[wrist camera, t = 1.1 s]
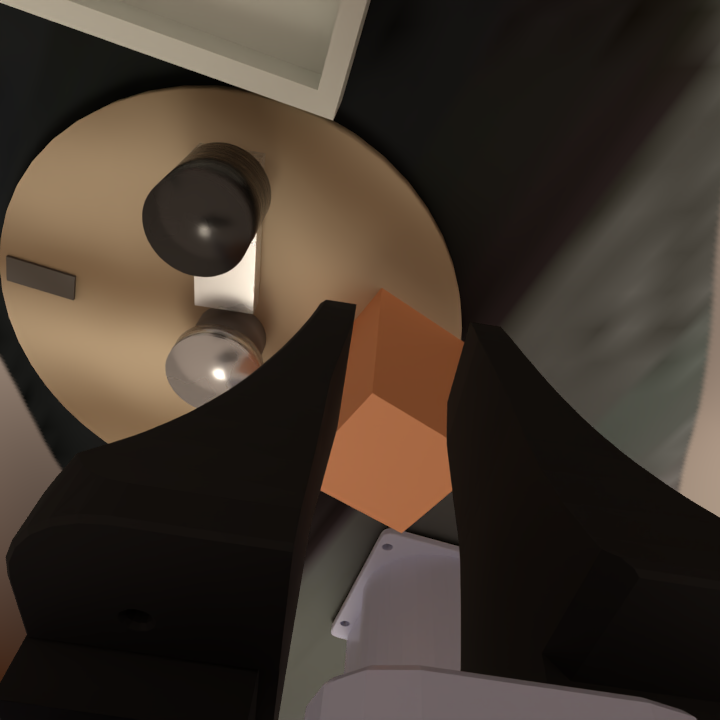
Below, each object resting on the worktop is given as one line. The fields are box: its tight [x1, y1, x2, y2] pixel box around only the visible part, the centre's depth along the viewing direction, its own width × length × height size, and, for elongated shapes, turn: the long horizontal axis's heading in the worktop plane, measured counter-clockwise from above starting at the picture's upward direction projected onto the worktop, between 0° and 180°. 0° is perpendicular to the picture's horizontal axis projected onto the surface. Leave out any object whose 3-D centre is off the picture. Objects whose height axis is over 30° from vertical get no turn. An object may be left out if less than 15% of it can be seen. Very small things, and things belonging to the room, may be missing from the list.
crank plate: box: [0, 85, 462, 444], centre depth 22 cm, size 17×17×2 cm
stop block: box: [320, 288, 464, 533], centre depth 20 cm, size 4×4×6 cm
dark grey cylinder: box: [142, 142, 271, 408], centre depth 21 cm, size 14×3×4 cm, turn 172°
